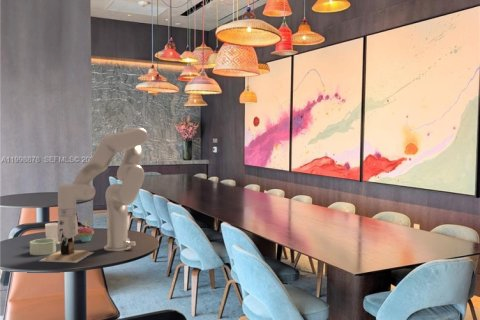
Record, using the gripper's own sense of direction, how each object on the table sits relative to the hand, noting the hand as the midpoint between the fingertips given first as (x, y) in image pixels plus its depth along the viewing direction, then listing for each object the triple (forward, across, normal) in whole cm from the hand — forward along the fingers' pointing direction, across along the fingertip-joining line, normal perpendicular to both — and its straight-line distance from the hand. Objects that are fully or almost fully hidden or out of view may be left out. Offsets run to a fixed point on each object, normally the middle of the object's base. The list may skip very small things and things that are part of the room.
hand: (67, 252), depth 187 cm
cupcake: (+2, +32, +7) cm, 33 cm away
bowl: (+2, +6, +15) cm, 16 cm away
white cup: (+3, +24, +20) cm, 31 cm away
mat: (+2, 0, 0) cm, 2 cm away
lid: (+2, 0, 0) cm, 2 cm away
